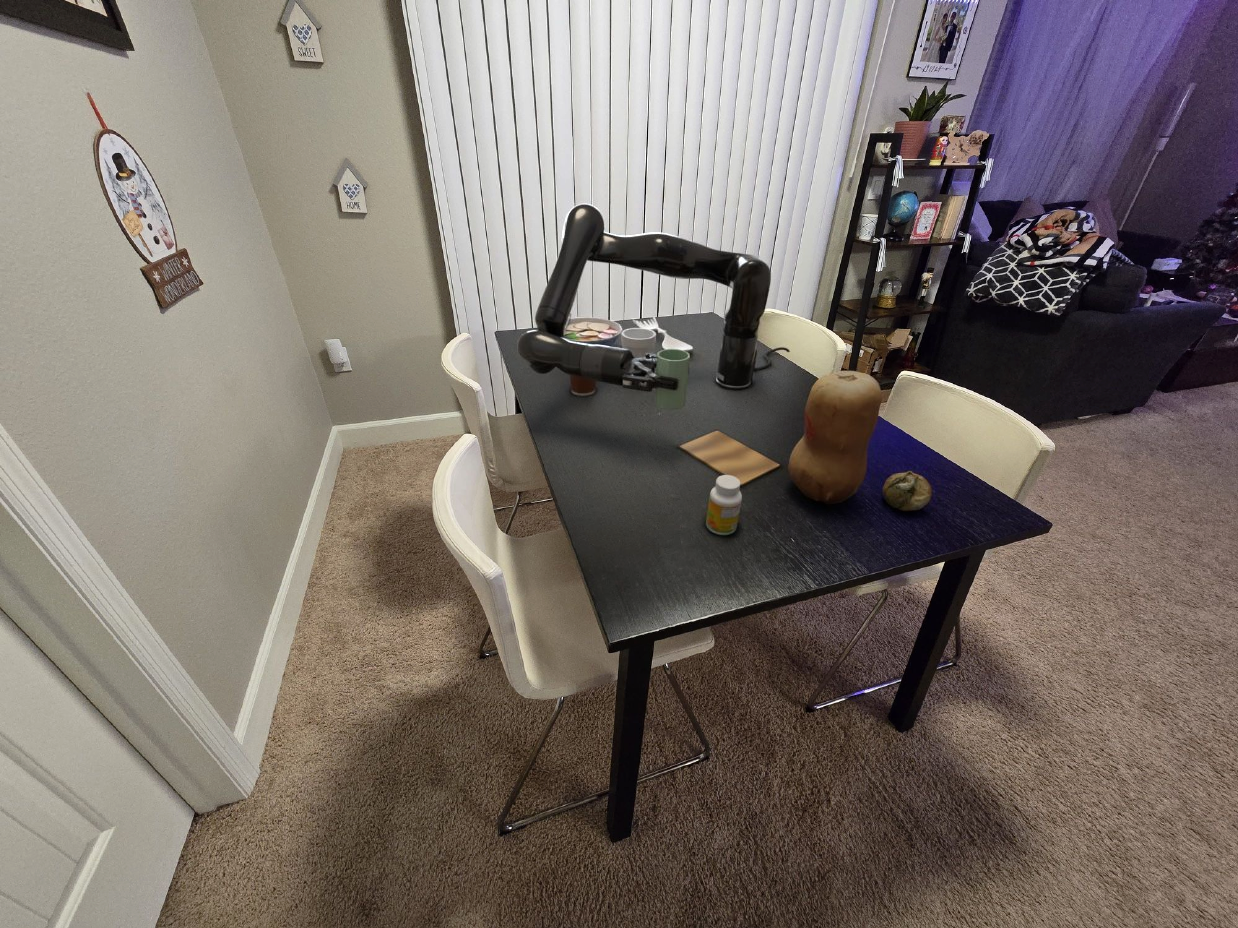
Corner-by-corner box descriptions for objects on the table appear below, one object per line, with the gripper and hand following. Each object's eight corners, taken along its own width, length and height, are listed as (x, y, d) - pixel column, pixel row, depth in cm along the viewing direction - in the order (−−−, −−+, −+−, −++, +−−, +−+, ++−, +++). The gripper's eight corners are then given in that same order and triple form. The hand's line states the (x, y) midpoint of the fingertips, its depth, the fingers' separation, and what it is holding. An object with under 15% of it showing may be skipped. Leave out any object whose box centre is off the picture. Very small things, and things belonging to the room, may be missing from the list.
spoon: (654, 325, 182) (654, 315, 180) (697, 356, 157) (698, 345, 155) (631, 328, 179) (631, 318, 177) (672, 359, 154) (672, 348, 152)
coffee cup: (580, 401, 130) (578, 357, 123) (559, 389, 135) (557, 346, 129) (607, 391, 135) (607, 348, 128) (586, 380, 140) (585, 339, 134)
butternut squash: (776, 474, 103) (802, 358, 89) (842, 476, 102) (878, 360, 89) (793, 517, 91) (826, 392, 77) (868, 519, 91) (914, 394, 77)
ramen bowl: (621, 366, 149) (622, 340, 145) (545, 365, 149) (543, 338, 145) (622, 338, 170) (622, 314, 165) (555, 337, 170) (553, 313, 166)
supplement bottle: (702, 516, 91) (708, 472, 86) (731, 515, 91) (739, 471, 86) (709, 536, 87) (716, 491, 81) (740, 535, 87) (748, 490, 82)
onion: (930, 520, 91) (947, 485, 87) (884, 515, 92) (898, 479, 88) (917, 496, 97) (932, 461, 93) (874, 491, 98) (886, 457, 94)
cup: (671, 393, 107) (674, 346, 101) (691, 404, 103) (696, 356, 97) (648, 401, 104) (650, 353, 98) (668, 413, 100) (672, 363, 94)
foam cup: (650, 386, 138) (653, 340, 131) (617, 383, 139) (618, 338, 132) (655, 373, 145) (658, 329, 138) (624, 370, 147) (625, 326, 140)
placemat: (679, 447, 111) (679, 445, 111) (717, 432, 117) (717, 430, 117) (741, 486, 99) (741, 484, 99) (779, 466, 105) (780, 464, 105)
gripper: (591, 359, 97) (673, 373, 92) (620, 336, 108) (695, 348, 103) (592, 394, 101) (670, 410, 96) (619, 369, 112) (691, 381, 107)
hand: (683, 378), depth 99 cm, fingers closed on cup, 6 cm apart
